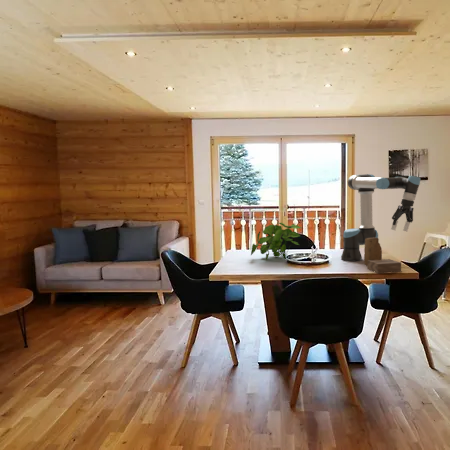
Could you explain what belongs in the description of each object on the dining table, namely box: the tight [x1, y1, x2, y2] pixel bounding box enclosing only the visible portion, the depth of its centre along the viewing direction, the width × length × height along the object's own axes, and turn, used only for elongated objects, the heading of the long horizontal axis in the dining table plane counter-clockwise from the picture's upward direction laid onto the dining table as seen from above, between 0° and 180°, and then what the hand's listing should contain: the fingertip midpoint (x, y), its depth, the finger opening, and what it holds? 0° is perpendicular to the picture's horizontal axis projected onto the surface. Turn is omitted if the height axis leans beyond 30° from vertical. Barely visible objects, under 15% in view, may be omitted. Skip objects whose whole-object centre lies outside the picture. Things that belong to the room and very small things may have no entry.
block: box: [363, 237, 383, 267], centre depth 287 cm, size 11×8×20 cm
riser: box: [366, 258, 402, 274], centre depth 272 cm, size 14×16×6 cm
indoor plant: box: [250, 222, 303, 261], centre depth 322 cm, size 44×42×30 cm
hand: (399, 230), depth 274 cm, fingers open, 13 cm apart
